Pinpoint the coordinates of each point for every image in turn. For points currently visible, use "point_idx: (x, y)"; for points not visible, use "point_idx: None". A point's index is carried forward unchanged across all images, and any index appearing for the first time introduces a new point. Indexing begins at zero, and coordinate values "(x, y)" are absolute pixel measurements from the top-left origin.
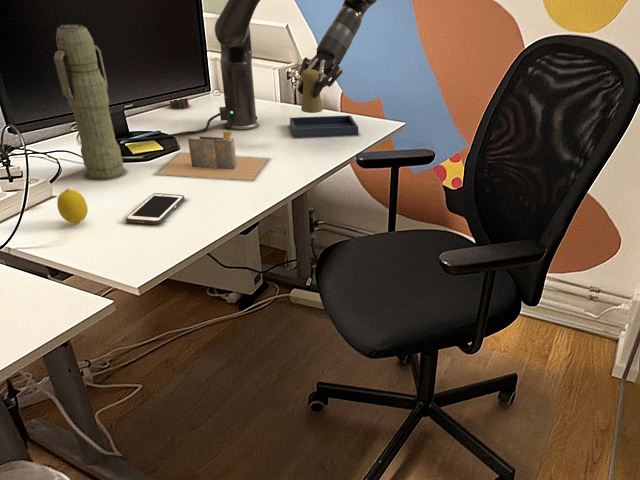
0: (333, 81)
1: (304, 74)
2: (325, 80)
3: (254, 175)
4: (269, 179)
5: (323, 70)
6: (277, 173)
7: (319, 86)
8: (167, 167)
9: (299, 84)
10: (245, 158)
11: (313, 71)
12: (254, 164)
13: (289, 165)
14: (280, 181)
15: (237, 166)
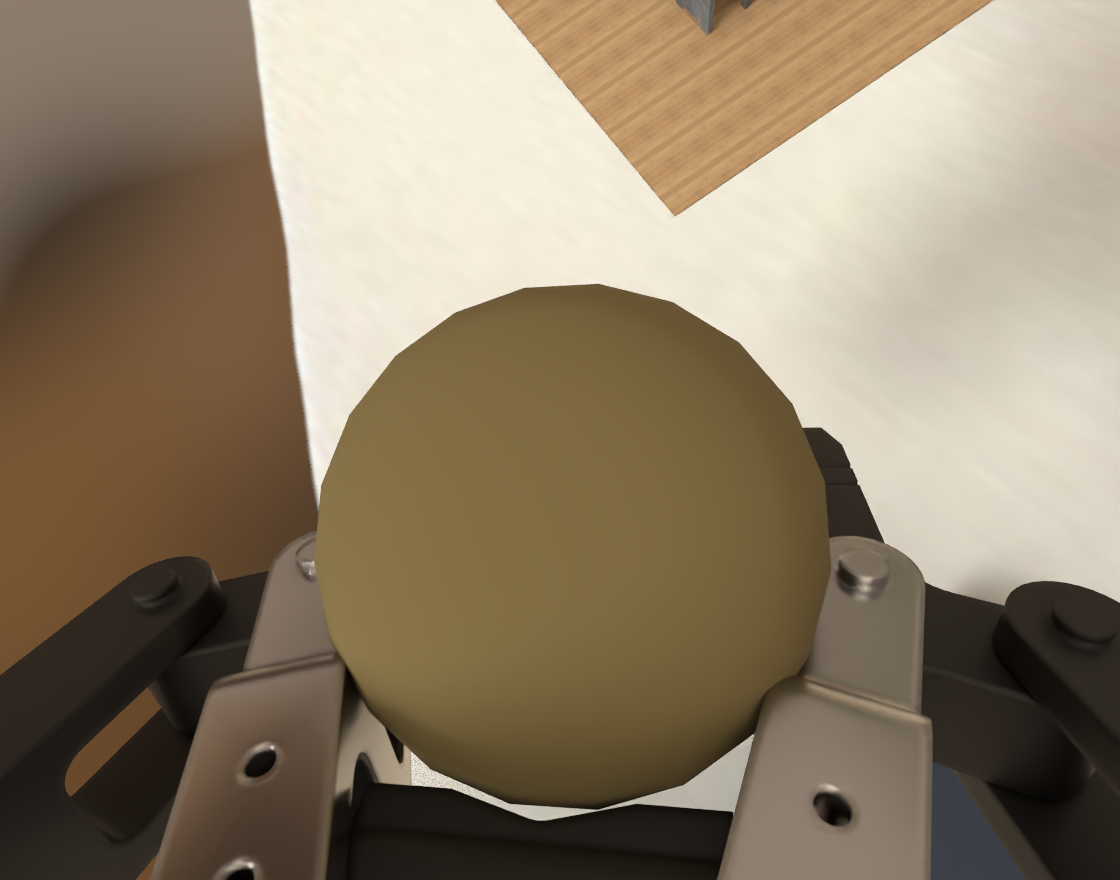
0: (99, 778)
1: (552, 289)
2: (151, 580)
3: (531, 34)
4: (440, 60)
5: (195, 808)
6: (468, 129)
7: None
8: None
9: (847, 476)
10: (776, 128)
11: (373, 482)
12: (658, 114)
13: (506, 241)
14: (383, 82)
15: (698, 35)
